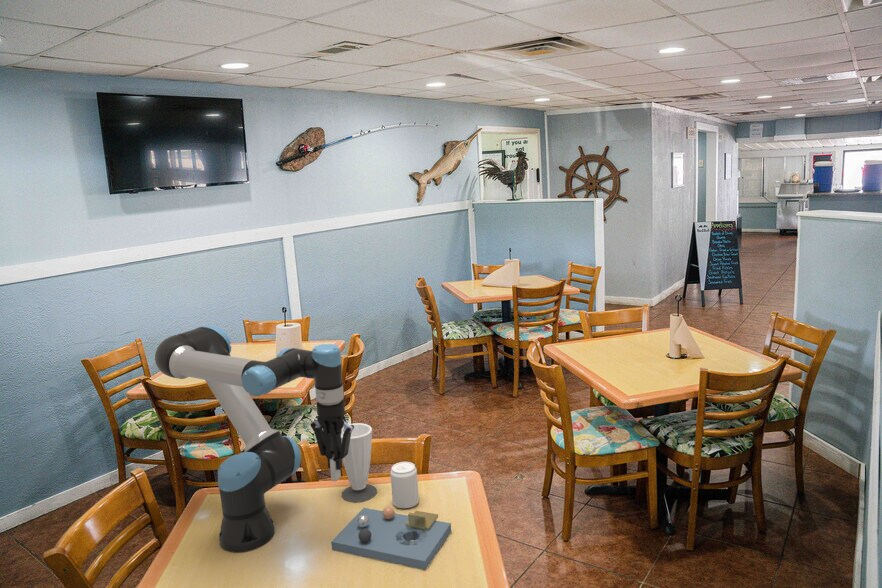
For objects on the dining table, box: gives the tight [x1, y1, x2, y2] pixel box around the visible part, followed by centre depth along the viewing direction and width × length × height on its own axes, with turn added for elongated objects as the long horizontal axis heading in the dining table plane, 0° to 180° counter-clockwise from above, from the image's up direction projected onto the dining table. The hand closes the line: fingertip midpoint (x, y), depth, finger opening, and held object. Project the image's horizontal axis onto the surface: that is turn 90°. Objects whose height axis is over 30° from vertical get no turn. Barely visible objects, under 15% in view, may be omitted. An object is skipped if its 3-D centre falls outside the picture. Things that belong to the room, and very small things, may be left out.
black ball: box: [358, 529, 371, 542], centre depth 166 cm, size 4×4×4 cm
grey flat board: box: [331, 507, 452, 571], centre depth 170 cm, size 28×18×2 cm, turn 68°
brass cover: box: [406, 510, 439, 530], centre depth 173 cm, size 7×7×4 cm
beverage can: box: [390, 461, 420, 509], centre depth 188 cm, size 8×8×12 cm
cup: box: [341, 422, 378, 504], centre depth 194 cm, size 12×12×22 cm
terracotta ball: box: [382, 506, 396, 519], centre depth 176 cm, size 4×4×4 cm
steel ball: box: [357, 515, 369, 528], centre depth 173 cm, size 4×4×4 cm
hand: (336, 478), depth 173 cm, fingers closed
